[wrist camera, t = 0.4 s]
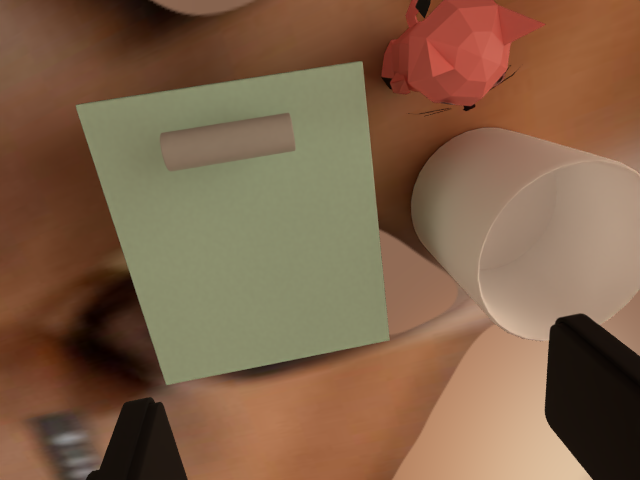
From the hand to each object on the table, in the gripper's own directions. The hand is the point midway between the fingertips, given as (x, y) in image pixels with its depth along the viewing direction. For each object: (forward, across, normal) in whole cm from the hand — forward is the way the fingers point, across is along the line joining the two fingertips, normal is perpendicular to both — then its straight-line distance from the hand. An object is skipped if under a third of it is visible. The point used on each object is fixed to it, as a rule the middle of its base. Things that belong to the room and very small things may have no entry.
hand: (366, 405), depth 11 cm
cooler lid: (+18, +3, +2) cm, 19 cm away
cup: (+27, -15, +5) cm, 31 cm away
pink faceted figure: (+27, -10, -7) cm, 29 cm away
